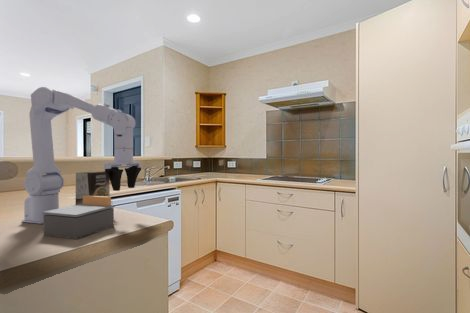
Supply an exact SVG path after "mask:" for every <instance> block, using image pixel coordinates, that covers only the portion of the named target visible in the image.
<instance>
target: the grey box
mask: <svg viewBox="0 0 470 313" xmlns="http://www.w3.org/2000/svg"><path fill="white" fill-rule="evenodd" d="M114 208H115V207H113V208H109V209H106V210H102V211H98V212H94V213H91V214H87V215H83V216H79V217H68V216H57V215H44V223H43V236H48V237H56V238H62V239H70V240H71V239H72V240H79V239H82V238H84V237H87V236H90V235H93V234H96V233H98V232H101V231H104V230H107V229H110V228H112V227H114V226H115V225H114V223H115V222H114V220H115V219H114V216H115V211H114Z"/></svg>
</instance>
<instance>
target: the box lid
mask: <svg viewBox="0 0 470 313" xmlns="http://www.w3.org/2000/svg"><path fill="white" fill-rule="evenodd" d="M109 208H115V204H112V197H111V196H110V197H108V196H89V195H85V196H83V203H82V204H77V205H76V204H74V205H69V206H64V207H59V208H58V209H54V210H49V211H44V212H42V214H46V215H57V216H68V217H79V216H83V215H87V214H91V213H94V212H98V211H102V210H106V209H109Z"/></svg>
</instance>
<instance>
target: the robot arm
mask: <svg viewBox="0 0 470 313" xmlns="http://www.w3.org/2000/svg"><path fill="white" fill-rule="evenodd" d="M30 101H31V107H30V110H29V126H30V136H31V137H30V138H31V149H32V150H31V151H32V160H33V161H32V162H33V166H32V167H31V168H30V169H28V170H27V171H26V173H25V174H26V175H25V176H26V178H25V180H24V184H23V186H24V189H25V191H26V192H27V193H28V194H29V195H28V196H27V197H26V198H25V200H24V202H23V203H24V207H23V208H24V214H23V215H24V218H23V219H21V221H20V222H21V223H22V222H23V223H30V224H38V225H39V224H44V215H46V214H42V212H44V211H49V210H54V209H58V208H60V205H59V204H60V203H59V202H60V200H59V198H60V197H59V196H60V194H59V193H60V192H61V189H63V187H64V184H65V179H64V177H63V176H62V173H61V169H60V168H59V167H58V166H56V165H55V154H54V144H53V143H54V142H53V131H52V120H53V119H54V118H55V117H58V116H60V115H62V114H64V113H65V112H68V111H69V110H73V109H79V110H81V111H84V112H86V113H89V114H91V116H92V118H93V119H94V120H95V121H99V122H100V123H103V124H106V125H108V126H110V127H112V128H113V139H114V141H113V142H114V144H113V145H114V146H113V147H114V149H113V150H114V151H113V152H114V156H113V157H114V160H113V161H110V162H108V161H107V162H103V169H104V171H105V172H106V174H107V175H108V177H109V179H110V184H111V188H112V191H116V192H119V191H120V190H121V184H122V183H121V182H122V175H123V172H124V171H125V174H126V180H127V188H129V189H134V188H135V187H136V182H137V178H138V176H139V174H140V172H141V171H142V168H141V167H142V161H134V129H135V127H136V125H137V123H136V119H135V117H133V116H132V115H131V114H127V113H125V112H123V111H122V109H119V108H118V109H115V108H113V107H110V106H111V105H110V104H107V103H105V102H104V103H103V104H102V103H98V104H93V103H91V102H88V101H86V100H84V99H83V98H80V97H78V96H75V95H74V94H73V95H72V94H70V93H68V92H64V91H60V90H56V89H50V88H48V87H45V86H41V87H38V88H36V89H35V90H34V91H33V92H32V93H31V94H30ZM120 168H121V169H120ZM123 168H124V169H123Z"/></svg>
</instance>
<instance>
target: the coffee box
mask: <svg viewBox="0 0 470 313" xmlns="http://www.w3.org/2000/svg"><path fill="white" fill-rule="evenodd" d="M110 184H111V182H110V179H109V177H108V175H107V174H106V172H105V170H104V171H103V170H102V171H100V170H99V171H86V172H75V205H77V204H82V203H83V196H85V195H89V196H108V197H111V196H110V190H111V189H110V187H111V186H110Z"/></svg>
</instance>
